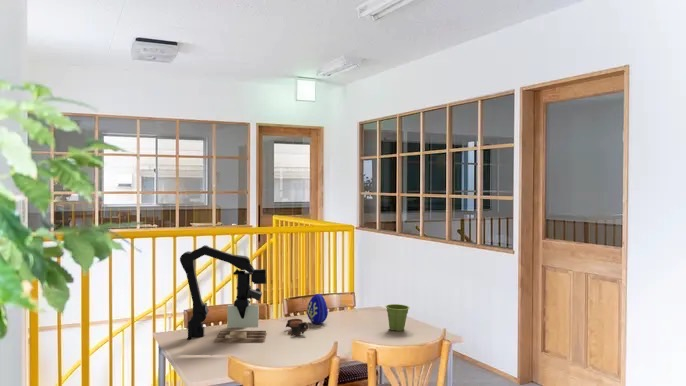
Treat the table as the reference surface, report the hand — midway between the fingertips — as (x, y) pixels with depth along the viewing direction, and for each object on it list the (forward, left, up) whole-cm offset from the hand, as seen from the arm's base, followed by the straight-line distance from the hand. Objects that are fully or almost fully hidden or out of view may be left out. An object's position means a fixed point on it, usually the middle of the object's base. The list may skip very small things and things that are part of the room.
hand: (243, 317), depth 246 cm
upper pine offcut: (-1, -8, -6) cm, 10 cm away
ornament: (+35, +26, -9) cm, 44 cm away
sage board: (0, 0, -4) cm, 4 cm away
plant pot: (+74, +14, -9) cm, 76 cm away
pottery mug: (+25, +5, -9) cm, 27 cm away
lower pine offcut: (-2, -8, -8) cm, 12 cm away
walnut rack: (0, -4, -9) cm, 10 cm away
